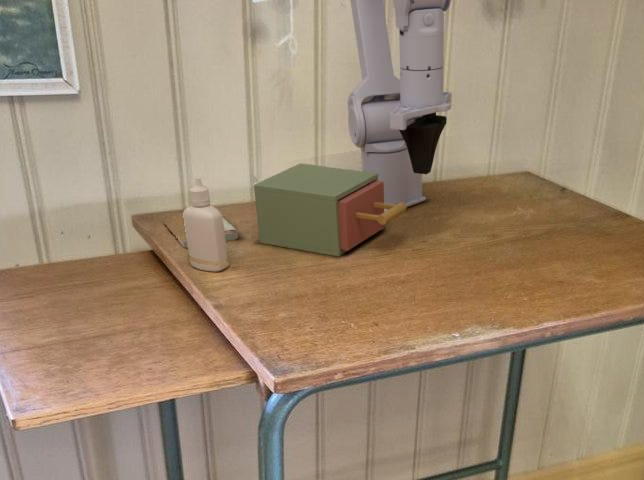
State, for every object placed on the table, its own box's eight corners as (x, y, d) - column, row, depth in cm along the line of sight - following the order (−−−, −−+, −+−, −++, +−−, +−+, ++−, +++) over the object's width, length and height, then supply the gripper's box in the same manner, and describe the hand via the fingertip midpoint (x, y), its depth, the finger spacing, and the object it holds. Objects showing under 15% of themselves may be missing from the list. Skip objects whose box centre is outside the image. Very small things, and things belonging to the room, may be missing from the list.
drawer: (414, 232, 132) (414, 185, 128) (378, 256, 124) (377, 207, 120) (313, 216, 139) (310, 171, 135) (274, 238, 131) (269, 191, 127)
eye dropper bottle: (217, 257, 128) (206, 170, 121) (231, 269, 123) (220, 180, 117) (187, 263, 126) (174, 175, 119) (201, 276, 122) (188, 186, 115)
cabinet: (379, 230, 135) (378, 173, 130) (338, 256, 126) (335, 196, 122) (304, 218, 140) (299, 163, 136) (259, 243, 132) (253, 184, 127)
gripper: (424, 79, 112) (424, 190, 120) (472, 59, 122) (469, 162, 130) (374, 75, 115) (377, 183, 122) (425, 56, 125) (425, 157, 133)
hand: (422, 172), depth 126 cm, fingers closed
